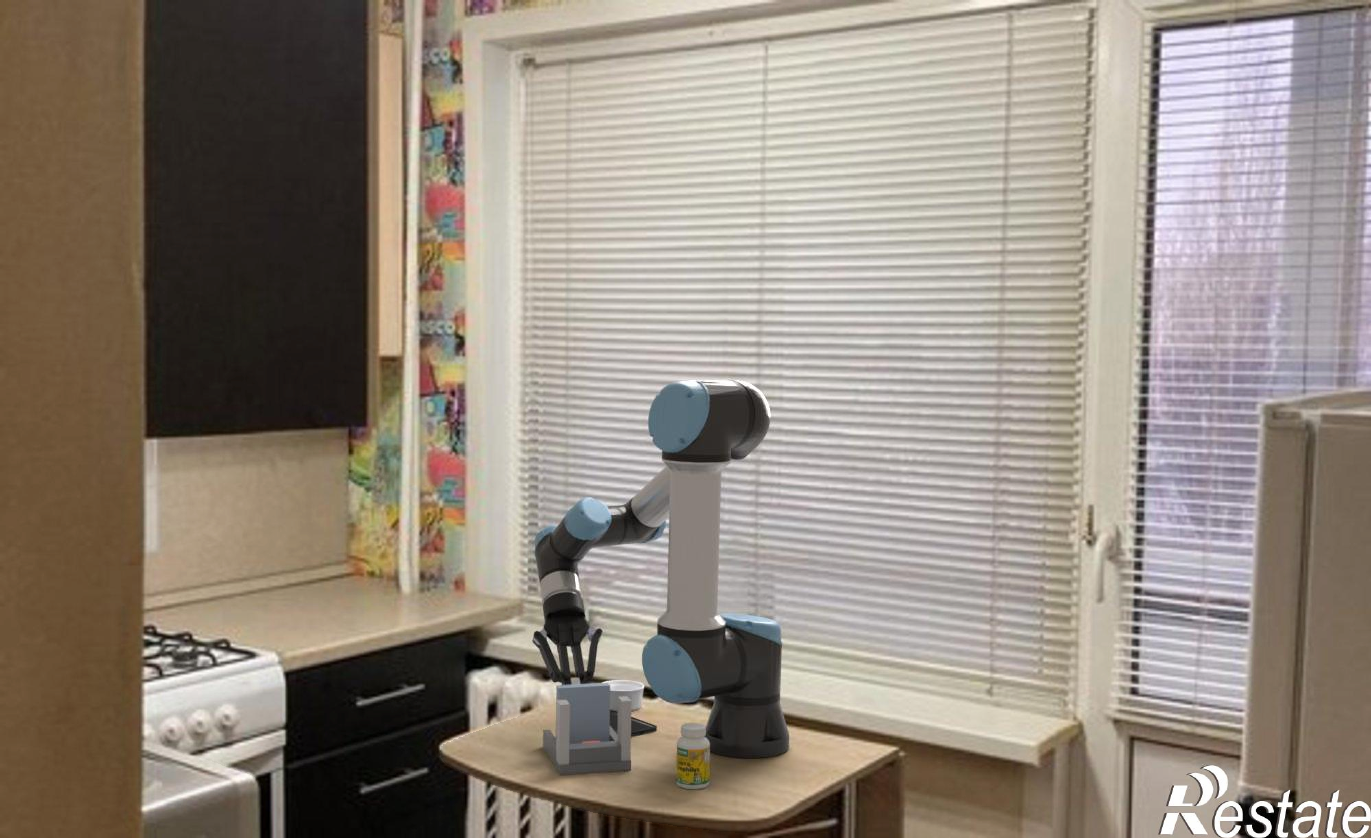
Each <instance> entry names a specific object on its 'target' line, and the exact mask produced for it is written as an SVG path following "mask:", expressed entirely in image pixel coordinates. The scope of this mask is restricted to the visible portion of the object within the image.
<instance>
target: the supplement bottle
mask: <svg viewBox="0 0 1371 838" xmlns="http://www.w3.org/2000/svg"><path fill="white" fill-rule="evenodd" d="M705 734H706V725H705V724H702V723H698V722H688V723H684V724H681V726H680V735H681V737H679V738H678V739H677V741H676V775H675V776H676V785H677V786H678V787H680V788H682V789H686V790H702V789H705V788H707V787H708V786H709V785H710V779H711V776H710V774H711V770H710V769H711V768H710V767H711V765H710V764H711V763H710V762H711V756H710V755H711V754H710V753H711V751H710V742H709V740H708V739H707V738H705V737H704V736H705Z"/></svg>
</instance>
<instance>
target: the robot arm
mask: <svg viewBox="0 0 1371 838" xmlns="http://www.w3.org/2000/svg"><path fill="white" fill-rule="evenodd" d="M647 420H648V422H647V426H648V428H647V429H648V433H649V436H650V437H651V438H652V443H653V445H654V446H656V448H658V449H659V450H661V461H662V462H663V463H664V465H666V466H665V467H663V468H662V470H660V471H659V472H658V473H657V474H656V475H655V476H654V477H653V478H652V479H651V480H649V482H647V483H646V485H645V486H643V488H641V489H640V490H639V491H638V492H637V493H636V494H635V495H633V497H632V498H631V499H629V500H628V501H627V502H626V503H624V504H619V505H608V506H607V505H606V504H605V503H604V502H603V501H602V500H600V499H595V498H593V497H589V496H588V497H587V496H586V497H583V498H580V499H579V500H578V501H577V502H576V503H575V504H574V505H573V506H572V507H570V509H569V510H568V511H566V514H565V516H564V517H563V518H562V520H561V521H560V522H559V524H558V525H550V526H549V525H548V526H547V527H545V528H544V529H541V530H539V531H538V532H537V534H536V535H535V538H534V557H535V561H536V569H537V575H538V581H539V587H540V596H541V602H542V611H543V618H544V624H543V628H542V629H541V630H540V631H538V630H536V631H534V632H533V636H532V643H533V644H534V645H535V647H536V648H537V649H538V650H539V652H540V655H541V658H542V659H543V661H544V664H545V666H546V667H545V668H546V669H547V671H548V675H549V676H550V678H551V681H552V682H553V683H555V684H556V683H559V684H560V683H561V685H573V684H587V683H586V682H590V681H592V680H593V678H594V675H595V672H596V671H595V670H596V662H597V653H598V646H599V642H601V639H602V635H603V629H602V628H597V629H595V628H593V627H591V625H590V623H589V622H588V620H587V618H586V612H585V605H584V604H585V603H584V600H583V593H582V586H581V581H580V575H579V568H578V566H579V563H580V562H581V561H582V560H583V559H584V558H585V556H586V555H587V554H588V553H589V552H590V550H592V549H595V548H604V547H612V546H622V545H631V544H632V545H633V544H645V543H649V542H653V541H657V540H658V539H660V538H661V537H662V536H663V535H664V531H665V529H666V526H667V520H668V550H667V555H668V556H667V586H666V587H667V589H666V591H667V592H666V610H665V612H663V614H662V615H660V616H659V617H658V618H657V626H656V627H657V628H656V634H655V635H654V636H652V637H651V638H649V639H648V640H647V641H646V644H644V646H643V649H642V654H641V664H642V665H641V666H642V671H643V674H644V678H645V679H646V682H647V684H648V685H649V686H650V687H651V690H652V691H653V692H654V694H655V695H656V696H658V698H659V699H662V701H664V702H666V703H668V704H682V703H688V704H689V703H694V702H696V701H700V700H703V699H708V698H713V697H714V701H713V705H712V708H711V711H710V713H709V717H708V720H707V722H706V725H705V726H706V734H705V736H704V737H705V738H707V739H708V740H709V742H710V752H712V753H714V754H717V755H722V756H727V757H733V758H745V759H747V758H749V759H753V758H755V759H757V758H768V757H773V756H778V755H781V754H783V753H785V752H787V751H788V750H789V748H790V732H789V729H788V726H787V723H786V720H785V719H786V718H785V716H784V713H783V709H782V706H781V680H782V654H783V653H782V650H783V642H782V628H781V626H780V624H779V623H778V622H777V621H776V620H774V619H771V618H768V617H762V616H757V615H749V614H739V613H719V612H718V601H719V600H718V599H719V598H718V596H719V569H720V568H719V560H720V558H719V557H720V535H721V534H720V531H721V530H720V529H721V528H720V527H721V499H722V497H721V496H722V495H721V494H722V473H723V471H724V470H725V468H726V467H728V466H729V465H730V464H731V463H732V462H733V461H734V462H737V461H741V460H742V461H743V460H744V459H745V458H747V456H749V455H750V454H751V453H752V452H753V451H754V450H755V449H757V447H758V446H759V445H760V444H761V443H762V442H763V440H764V438H766V436H767V434H768V431H769V428H770V425H771V411H770V405H769V403H768V401H767V399H766V397H765V395H764V394H763V393H762V391H761V390H760V389H758V388H757V387H756V386H754V385H752V384H751V383H749V382H746V381H742V380H738V379H737V380H736V379H735V380H734V379H731V380H729V379H728V380H695V379H691V380H689V379H688V380H687V379H686V380H683V381H682V380H681V381H674V382H671V383H669V384H667V385H666V386H663V388H662V389H661V390H660V392H659V393H657V394H656V396H655V397H654V399H653V400H652V403H651V405H650V408H649V413H648V419H647ZM587 635H588V637H587V638H588V640H589V642H590V645H589V649H588V650H589V651H588V656H587V657H588V658H587V666H586V670H585V664H584V659H583V658H584V657H583V652H582V646H581V645H582V642H583V640H584V639H585V638H586V636H587ZM547 639H549V640H550V641H551V642H552V643H553V644H554V645H555V646H556V649H557V653H558V661H559V665H558V663H557V661H556V659H555V656H554V654H553V651H552V649H551V647H550V645H549V642H548V640H547ZM568 647H570V651H571V653H572V659H573V665H574V666H573V667H574V672H575V673H574V674H575V677H571V676H572V675H571V674H572V673H571V667H570V659H569V653H568ZM559 667H560V668H559Z"/></svg>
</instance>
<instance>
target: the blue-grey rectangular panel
mask: <svg viewBox="0 0 1371 838" xmlns="http://www.w3.org/2000/svg"><path fill="white" fill-rule="evenodd" d="M555 689H556V691H555V696H556V697H555V698H556V699H555V700H556V702H555V704H556V705H555V725H556V724H557V700H567V701H568V703H569V704H570V725H569V744H576V743H582V742H585V741H600V742H607V741H609V727H610V685H609V684H608V683H602V682H597V683H596V682H595V683H594V682H593V683H586V684H573V685H562V684H557V685H556V687H555Z"/></svg>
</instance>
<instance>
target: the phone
mask: <svg viewBox="0 0 1371 838" xmlns="http://www.w3.org/2000/svg"><path fill="white" fill-rule="evenodd" d="M610 726H611V727H612V729H613V730H614V731H615V732H616V734H617V730H618V711H614V710H610ZM657 730H658V726H657V725H656V724H653V723H650V722H647V721H645V720H641V719H638V718H636V717H633V716H631V738H633V737H637V736H641V735H646V734H650V733H655V732H657Z"/></svg>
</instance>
